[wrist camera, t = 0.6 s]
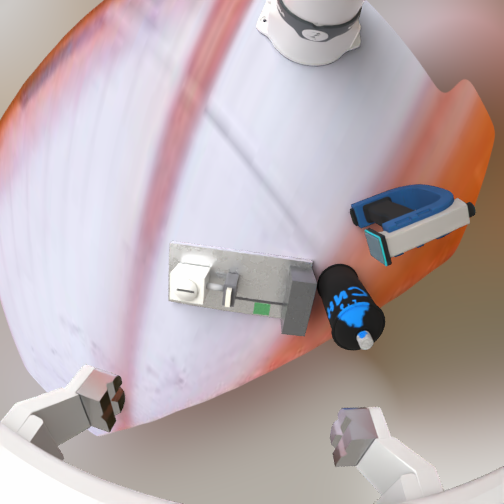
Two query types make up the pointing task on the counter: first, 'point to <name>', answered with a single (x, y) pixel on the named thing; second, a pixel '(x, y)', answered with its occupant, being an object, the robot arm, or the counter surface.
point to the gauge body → (191, 283)
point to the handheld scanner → (409, 218)
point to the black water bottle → (349, 308)
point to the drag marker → (230, 290)
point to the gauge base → (254, 282)
